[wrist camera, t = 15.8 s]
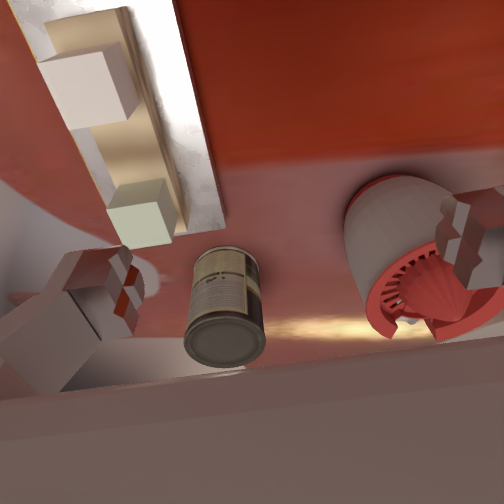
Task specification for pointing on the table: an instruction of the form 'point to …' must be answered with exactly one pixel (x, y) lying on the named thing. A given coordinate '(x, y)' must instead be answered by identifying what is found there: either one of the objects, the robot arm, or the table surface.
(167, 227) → the pale green cube
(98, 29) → the checkered beige brown block
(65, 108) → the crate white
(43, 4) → the dock
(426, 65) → the table surface
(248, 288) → the coffee can
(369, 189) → the citrus juicer
